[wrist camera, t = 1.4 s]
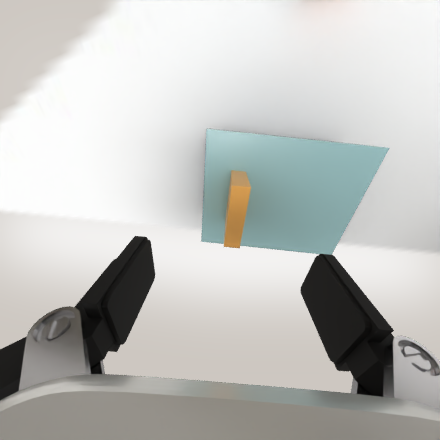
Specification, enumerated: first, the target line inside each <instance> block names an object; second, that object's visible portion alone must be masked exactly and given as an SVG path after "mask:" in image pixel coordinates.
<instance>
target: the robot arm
mask: <svg viewBox="0 0 440 440" xmlns="http://www.w3.org/2000/svg"><path fill="white" fill-rule="evenodd" d="M154 278H155V270H154V263H153V256H152V248H151V242H150V240H148V239H147V237H139V236H135V237H134V238H133V239H132V240H131V242H130V243H129V244H128V245H127V246H126V248H125V249H124V250H123V252H122V253H121V254H120V255H119V256H118V258H117V259H115V260H114V261H112V262H111V264H110V265H109V266H108V267H107V269H106V270H105V271H104V272H103V273H102V274H101V276H100V277H99V278H98V280H97V281H96V282H95V283H94V284H93V285H92V287H91V288H90V289H89V290H88V291H87V293H86V294H85V295H84V297H83V298H82V299H81V300H80V301H79V303H78V304H77V305H76V306H75V307H70V306H69V307H62V308H59V309H56V310H53V311H51V312H49V313H47V314H46V315H45V316H43V317H42V318H40V319H39V320H38V321H37V322H36V323H35V324H34V325H33V326H32V328H31V329H30V330H29V332H28V335H27V337H25V338H23V339H21V340H19V341H17V342H15V343H13V344H11V345H9V346H7V347H5V348H3V349H0V440H440V361H439V360H438V359H437V358H436V357H435V356H434V355H433V354H432V353H431V352H430V351H429V350H428V349H427V348H425V347H424V346H423V345H421V344H420V343H418V342H417V341H415V340H413V339H411V338H409V337H405V336H396V337H394V336H393V335H392V334H391V332H393V331H394V330H393V329H392V328H391V326H390V325H389V324H388V323H387V321H386V320H385V319H384V318H383V316H382V315H381V314H380V313H379V311H378V310H377V309H376V308H375V307H374V305H373V304H372V303H371V302H370V301H369V299H368V298H367V297H366V295H365V294H364V293H363V292H362V290H361V289H360V288H359V287H358V285H357V284H356V283H355V282H354V280H353V279H352V278H351V277H350V275H349V274H348V273H347V272H346V270H345V269H344V268H343V267H342V266H341V264H340V263H339V262H338V261H337V259H336V258H335V257H334V256H333V255H331V254H320V255H319V256H317V257H316V258H315V260H314V262H313V264H312V266H311V268H310V270H309V272H308V274H307V276H306V278H305V280H304V282H303V284H302V286H301V294H302V297H303V299H304V301H305V304H306V306H307V308H308V310H309V313H310V315H311V317H312V320H313V322H314V324H315V326H316V329H317V331H318V333H319V336H320V338H321V340H322V343H323V345H324V347H325V350H326V352H327V354H328V357H329V358H330V360H331V361H332V362H334V364H335V367H336V369H337V370H339V371H351V373H352V375H353V382H352V389H351V393H340V392H329V391H318V390H306V389H295V388H284V387H272V386H260V385H248V384H247V385H246V384H235V383H222V382H210V381H198V380H197V381H196V380H184V379H172V378H159V377H145V376H127V375H109V374H108V375H107V374H105V372H104V365H103V359H104V358H105V356H106V354H107V352H108V351H114V352H117V351H118V349H119V347H120V345H121V344H124V343H125V341H126V340H127V337H128V335H129V333H130V331H131V329H132V326H133V324H134V322H135V320H136V318H137V316H138V313H139V312H140V309H141V307H142V305H143V303H144V301H145V299H146V296H147V294H148V292H149V290H150V288H151V285H152V283H153V281H154Z"/></svg>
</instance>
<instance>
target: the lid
mask: <svg viewBox="0 0 440 440" xmlns="http://www.w3.org/2000/svg"><path fill="white" fill-rule="evenodd" d="M388 150H389V148H385V147H377V146H368V145H358V144H349V143H339V142H330V141H320V140H311V139H301V138H292V137H282V136H273V135H263V134H254V133H244V132H235V131H225V130H216V129H207V131H206V153H205V175H204V196H203V218H202V240H201V241H202V242H211V243H221V244H224V247H232V248H240V246H249V247H258V248H269V249H277V250H286V251H296V252H306V253H316V254H331V255H332V253H333V251H334V249H335V247H336V246H337V244H338V242H339V240H340V238H341V236H342V235H343V233H344V231H345V229H346V227H347V225H348V224H349V222H350V220H351V218H352V216H353V214H354V212H355V211H356V209H357V207H358V205H359V203H360V201H361V200H362V198H363V196H364V194H365V192H366V190H367V188H368V187H369V185H370V183H371V181H372V179H373V177H374V176H375V174H376V172H377V170H378V168H379V166H380V165H381V163H382V161H383V159H384V157H385V155H386V153H387V152H388Z"/></svg>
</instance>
